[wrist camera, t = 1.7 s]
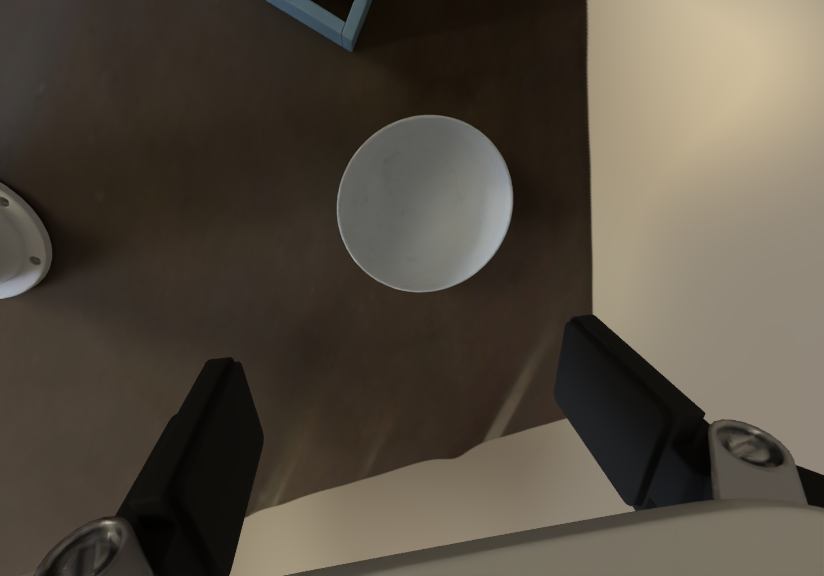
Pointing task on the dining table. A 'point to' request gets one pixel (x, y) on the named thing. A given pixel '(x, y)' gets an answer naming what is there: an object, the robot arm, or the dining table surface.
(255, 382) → the dining table surface
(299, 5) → the bin
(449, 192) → the chinaware
